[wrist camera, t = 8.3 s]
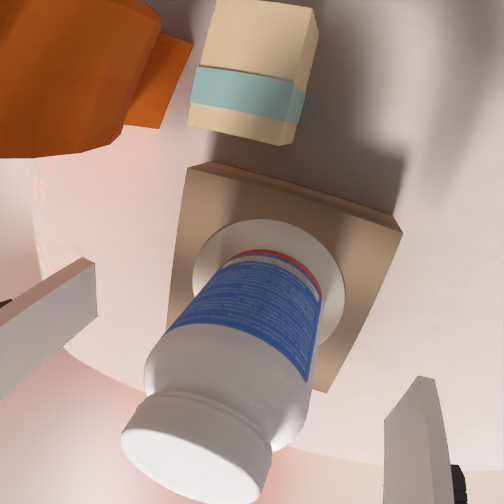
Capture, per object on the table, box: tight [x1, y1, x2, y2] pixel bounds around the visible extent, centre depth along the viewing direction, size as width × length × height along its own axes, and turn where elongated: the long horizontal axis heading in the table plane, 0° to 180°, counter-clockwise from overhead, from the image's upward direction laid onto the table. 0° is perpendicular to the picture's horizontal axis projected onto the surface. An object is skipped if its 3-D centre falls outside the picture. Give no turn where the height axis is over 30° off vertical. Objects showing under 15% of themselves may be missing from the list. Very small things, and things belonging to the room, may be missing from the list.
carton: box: [186, 0, 319, 146], centre depth 13 cm, size 6×4×4 cm
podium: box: [166, 161, 403, 393], centre depth 17 cm, size 10×10×3 cm
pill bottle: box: [120, 247, 324, 504], centre depth 11 cm, size 6×5×10 cm
